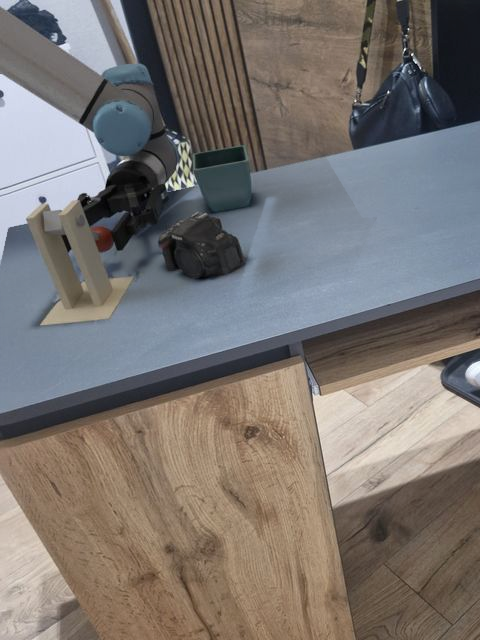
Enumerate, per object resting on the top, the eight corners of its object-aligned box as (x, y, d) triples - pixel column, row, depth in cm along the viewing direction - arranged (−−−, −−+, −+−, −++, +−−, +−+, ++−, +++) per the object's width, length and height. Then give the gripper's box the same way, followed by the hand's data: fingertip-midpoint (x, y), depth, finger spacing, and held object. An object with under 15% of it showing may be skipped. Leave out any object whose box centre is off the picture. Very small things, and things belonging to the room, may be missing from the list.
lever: (95, 255, 91) (93, 230, 91) (119, 252, 91) (117, 227, 91) (39, 237, 77) (36, 207, 77) (68, 233, 76) (65, 203, 76)
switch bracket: (74, 289, 90) (36, 195, 82) (137, 283, 89) (104, 188, 81) (43, 332, 81) (-4, 232, 73) (112, 326, 80) (72, 223, 72)
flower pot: (260, 213, 105) (249, 159, 100) (206, 223, 104) (192, 169, 99) (255, 195, 112) (245, 143, 107) (205, 204, 111) (192, 153, 106)
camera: (155, 287, 87) (136, 229, 82) (182, 258, 94) (166, 203, 89) (233, 288, 84) (218, 228, 79) (255, 258, 91) (242, 201, 86)
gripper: (203, 197, 105) (169, 261, 86) (84, 211, 106) (26, 277, 88) (190, 152, 101) (152, 209, 82) (67, 167, 102) (2, 226, 83)
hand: (87, 244), depth 85 cm, fingers open, 7 cm apart
